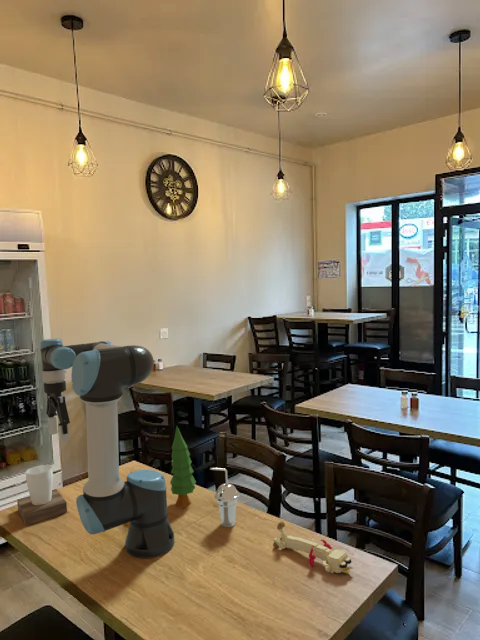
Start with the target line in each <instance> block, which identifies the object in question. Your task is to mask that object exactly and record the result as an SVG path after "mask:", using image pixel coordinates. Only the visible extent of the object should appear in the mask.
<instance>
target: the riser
mask: <svg viewBox="0 0 480 640" xmlns="http://www.w3.org/2000/svg"><path fill="white" fill-rule="evenodd" d="M16 502H17V503H16V504H17V511H18V513H19V514H20V517H21V519H22V520H23V523H24V525H25V526H28V525H32V524H35V523H38V522H41V521H44V520H48V519H51V518H54V517H58V516H61V515H65V514H67V513H68V508H67V507H68V506H67V501H66V499H65V498H64V497H63V496H62V495H61V493H60V492H59V491H58V489H56V488H54V489H52V497H51V501H50V502H48V503H46V504H43V505H33V504H32V502H31V498H30V495H29V496H26V497H23V498H19V499H16Z"/></svg>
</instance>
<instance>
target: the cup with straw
mask: <svg viewBox="0 0 480 640" xmlns="http://www.w3.org/2000/svg"><path fill="white" fill-rule="evenodd" d="M209 470H211V471H222V472H223V471H224V473H225V474H224V477H225V479H224V480H225V483H222V484H221V485H219V486H218V488H217V490H216V491H215V493H214V499H215V500H216V502H217V506H218V510H219V516H220V517H219V518H220V521H221V526H222V527H224V528H231V527H233V526H235V525H236V514H237V504H238V499H239V498H240V496H241V495H240V492H239V490H237V488H236V486H234V484H232V483H229V481H228V479H229V478H228V470H227V469H226V468H221V467H210V468H209Z"/></svg>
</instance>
